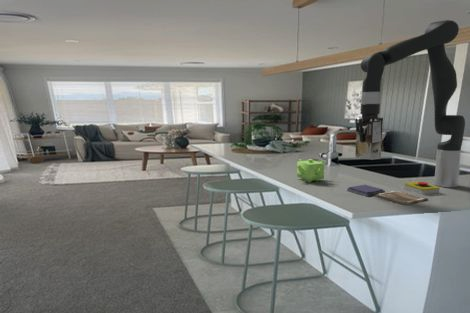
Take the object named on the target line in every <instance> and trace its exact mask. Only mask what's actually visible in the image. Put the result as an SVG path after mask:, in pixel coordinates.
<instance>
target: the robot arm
mask: <svg viewBox="0 0 470 313" xmlns="http://www.w3.org/2000/svg"><path fill="white" fill-rule="evenodd" d="M459 30H460V28H459V24H458V23H457V22H456V21H454V20H449V19H446V20H438V21H433V22H431V23H430V24H428V25H427V26H426V28H425V30H424V33H423V34H421V35H418V36H415V37H411V38H408V39H404V40H403V41H399V42H396V43H395V44H392V45H390V46H388V47H386V48H384V49H382V50H380V51H377V52H375V53H372V54H370V55H367V56H365V57H363V58H362V60H361V62H360V68H361V70H362V71H363V72H364V73H366V76H365V78H364V79H363V81H362V88H361V98H360V114H361V118H359V117H358V118H355V133H356V132H358V133H360V142H363V143H364V142H365V138H366V134H365V133H366V129H367V125H366V126H362V123H363V122H365V123H366V122H372V121H379V122H383V123H384V117H379V116H378V115H379V114H380V110H381V80H382V77H383V74H384V70H385V66H388V65H392V64H395V63H397V62H399V61H402V60H404V59H406V58H409V57H411V56H413V55H415V54H417V53H419V52H422V51H425V50H426V51H427V56H428V61H429V69H430V77H431V88H432V93H433V94H432V96H433V104H434V113H433V114H434V129H435V130H434V131H435V132H436V133H437V134H438V135H441V136H442V135H443V136H444V135H445V136H450V138H449V139H448V140H446V141H440V142H439V143H437V147H436V157H435V158H436V159H435V168H434V169H435V171H434V180H433V181H434V182H433V184H434V186H437V187H442V188H457V187H458V186H459V180H460V179H459V177H460V170H461V169H460V168H461V167H460V166H461V165H460V164H461V163H460V161H461V152H462V150H461V149H462V145H463V140H464V134H465V128H466V127H465V126H466V120H465V117H464V116H463V115H460V114H456V115H455V114H447V106H448V103H449V101H450V100H451V99H452V97H453V95H454V93H455V92H456V90H457V88H458V79H457V71H456V69H455V67H454V65H453V63H452V62H451V60H450V58H449V57H448V55H447V52H446V47H445V44H449V43H452V42H453V41H454V40H455V39H456V38H457V36H458V34H459V32H460V31H459ZM359 127H360V130H359ZM363 128H364V130H363Z"/></svg>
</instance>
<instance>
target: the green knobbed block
mask: <svg viewBox="0 0 470 313" xmlns="http://www.w3.org/2000/svg"><path fill="white" fill-rule="evenodd" d="M298 160H299V161H298ZM298 160H297V165H296V168H297V170H296V176H297V178H300V181H305V180H306V183H312V181H315V182H320V181H321V180H324V179H325V163H324V162H326V159H325V160H321V161H316V160H314V159H312V158H309V159H307V160H303V159H301V158H299V159H298Z"/></svg>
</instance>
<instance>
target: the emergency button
mask: <svg viewBox="0 0 470 313" xmlns="http://www.w3.org/2000/svg"><path fill="white" fill-rule="evenodd" d="M400 189H403V190H405V191H409V192H411V191H412V192H413V193H414V192H415V193H414V194H418V195H421V196H425V197H428V196H430V197H431V195H432V196H440V195H443V193H442V192H440V186H437V185H433V184H429V183H428V182H425V181H413V182H411V181H409V182H404V184H403V186H400ZM412 192H411V193H412Z"/></svg>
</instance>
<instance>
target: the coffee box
mask: <svg viewBox="0 0 470 313" xmlns="http://www.w3.org/2000/svg"><path fill="white" fill-rule="evenodd" d="M383 123H384V121H383V122H379V121H372V122H366V123H365V122H363V123H362V126H366V125H367V129H366V133H365V134H366V138H365V142H364V143H363V142H360V133H358V132H356V131H355V134H356V135H355V158H357V159H364V160H371V161H373V160H381V159H382V144H383V143H382V140H383V125H384V124H383ZM359 130H360V127H359ZM363 130H364V128H363Z"/></svg>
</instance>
